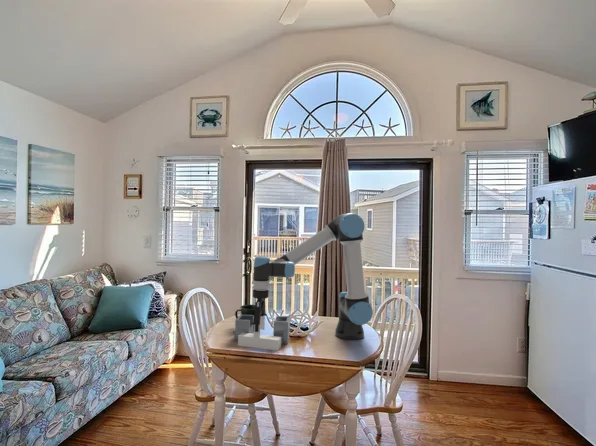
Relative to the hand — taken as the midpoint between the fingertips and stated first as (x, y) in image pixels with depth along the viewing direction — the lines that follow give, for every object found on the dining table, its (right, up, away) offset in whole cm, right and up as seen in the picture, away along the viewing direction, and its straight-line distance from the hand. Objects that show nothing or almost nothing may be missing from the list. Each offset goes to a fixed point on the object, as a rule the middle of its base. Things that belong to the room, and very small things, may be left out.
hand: (259, 333), depth 166 cm
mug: (-10, -6, +28) cm, 30 cm away
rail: (0, -6, 0) cm, 6 cm away
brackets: (+1, -6, +10) cm, 12 cm away
